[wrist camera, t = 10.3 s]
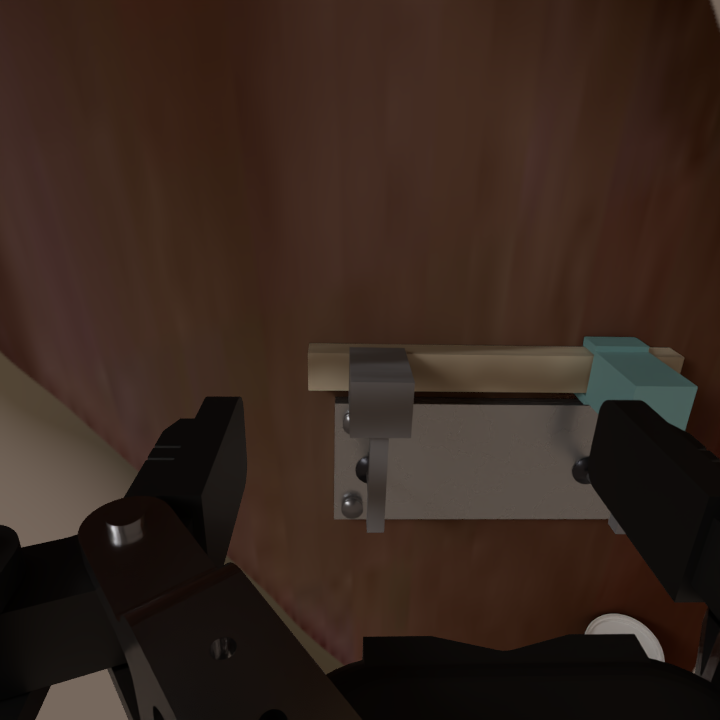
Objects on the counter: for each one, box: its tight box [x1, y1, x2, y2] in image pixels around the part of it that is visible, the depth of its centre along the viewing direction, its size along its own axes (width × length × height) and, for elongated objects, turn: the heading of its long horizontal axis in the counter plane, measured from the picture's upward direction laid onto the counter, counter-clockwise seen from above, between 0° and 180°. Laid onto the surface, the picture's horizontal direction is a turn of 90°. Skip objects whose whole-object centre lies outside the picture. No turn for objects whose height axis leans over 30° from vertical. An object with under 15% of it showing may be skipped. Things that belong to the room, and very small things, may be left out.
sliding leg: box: [574, 337, 698, 534], centre depth 40 cm, size 12×4×8 cm, turn 179°
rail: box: [308, 343, 684, 532], centre depth 40 cm, size 12×28×8 cm, turn 88°
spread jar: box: [585, 614, 665, 662], centre depth 50 cm, size 12×11×12 cm
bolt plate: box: [334, 397, 611, 519], centre depth 45 cm, size 11×26×2 cm, turn 88°
